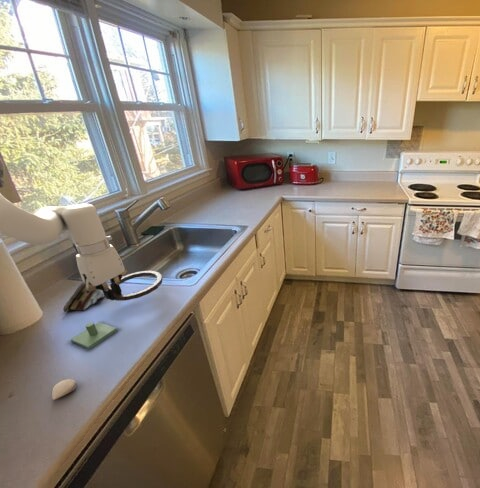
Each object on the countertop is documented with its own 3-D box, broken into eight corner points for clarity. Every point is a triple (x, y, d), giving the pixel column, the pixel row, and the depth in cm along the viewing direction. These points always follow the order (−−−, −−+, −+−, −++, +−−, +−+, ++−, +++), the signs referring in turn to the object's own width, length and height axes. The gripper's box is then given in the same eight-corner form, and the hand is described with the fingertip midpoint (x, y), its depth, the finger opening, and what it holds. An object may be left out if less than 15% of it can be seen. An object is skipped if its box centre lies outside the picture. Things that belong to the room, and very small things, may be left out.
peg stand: (71, 341, 81) (65, 330, 79) (100, 324, 88) (94, 312, 86) (89, 349, 79) (83, 337, 77) (117, 330, 85) (112, 319, 84)
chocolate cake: (84, 316, 92) (100, 280, 96) (60, 311, 91) (78, 276, 95) (100, 317, 101) (114, 285, 105) (78, 313, 100) (94, 280, 104)
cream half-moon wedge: (81, 383, 69) (77, 376, 68) (65, 402, 64) (60, 395, 63) (63, 384, 69) (59, 377, 68) (46, 403, 64) (41, 396, 63)
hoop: (96, 294, 92) (95, 290, 92) (141, 270, 106) (139, 267, 105) (130, 305, 87) (129, 301, 86) (172, 278, 100) (171, 275, 100)
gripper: (111, 234, 90) (129, 282, 98) (54, 255, 77) (81, 309, 85) (127, 237, 87) (145, 286, 95) (71, 260, 74) (97, 315, 82)
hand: (114, 296), depth 90 cm, fingers closed on hoop, 1 cm apart
